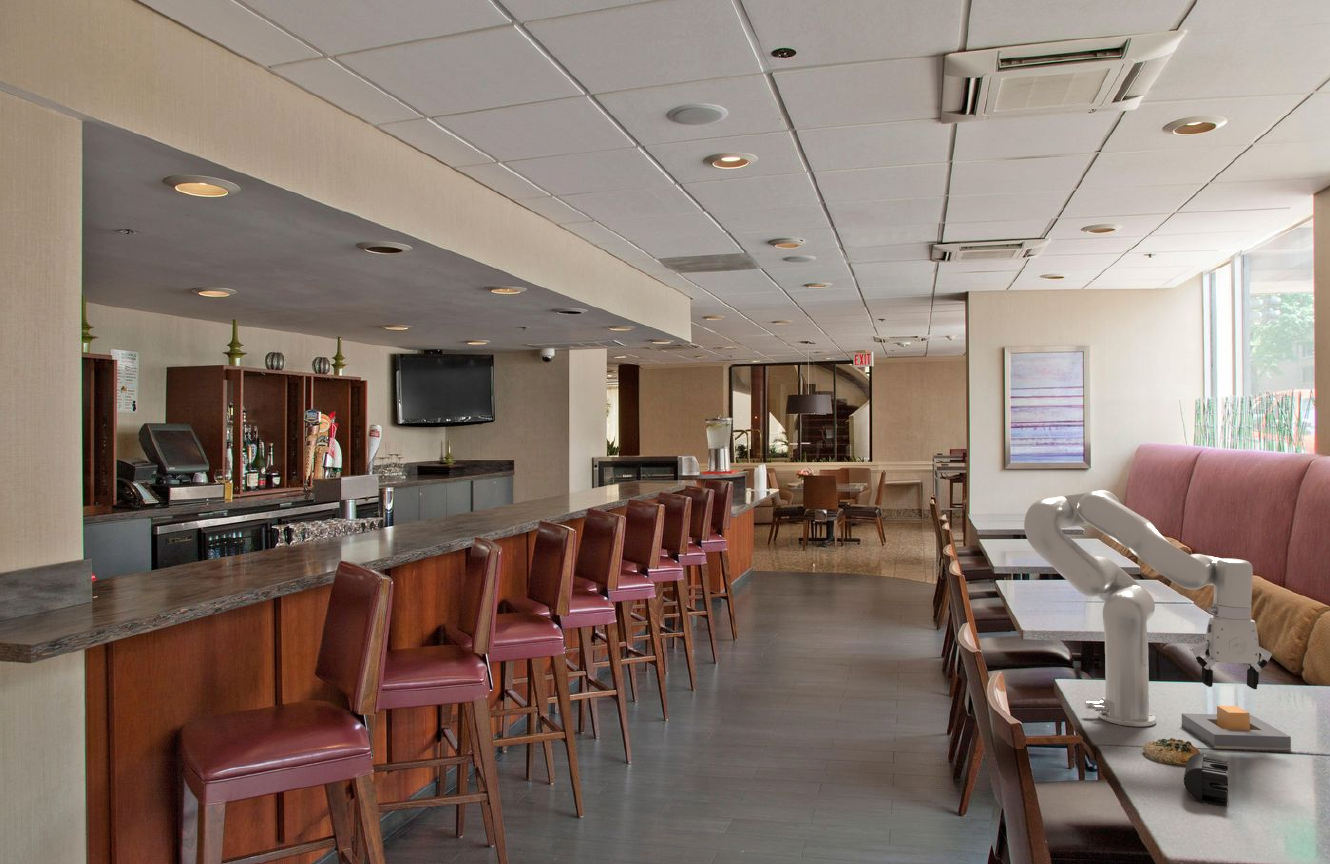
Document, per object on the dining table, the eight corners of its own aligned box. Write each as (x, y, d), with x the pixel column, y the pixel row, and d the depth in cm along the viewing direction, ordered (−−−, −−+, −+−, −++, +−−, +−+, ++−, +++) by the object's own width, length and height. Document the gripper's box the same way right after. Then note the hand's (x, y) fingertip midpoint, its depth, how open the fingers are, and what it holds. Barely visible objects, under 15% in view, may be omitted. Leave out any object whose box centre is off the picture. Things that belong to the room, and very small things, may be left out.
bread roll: (1193, 751, 202) (1193, 729, 202) (1208, 775, 192) (1208, 753, 191) (1138, 748, 206) (1137, 727, 205) (1149, 772, 195) (1149, 750, 194)
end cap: (1186, 784, 183) (1186, 750, 183) (1228, 791, 179) (1227, 757, 180) (1183, 801, 175) (1183, 765, 175) (1227, 809, 171) (1226, 772, 171)
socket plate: (1214, 748, 204) (1214, 734, 204) (1181, 726, 220) (1181, 713, 220) (1290, 750, 203) (1290, 736, 203) (1252, 728, 219) (1252, 715, 219)
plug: (1228, 739, 209) (1228, 712, 209) (1217, 731, 215) (1216, 705, 215) (1249, 739, 209) (1249, 713, 209) (1237, 732, 214) (1237, 706, 214)
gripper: (1200, 614, 209) (1197, 689, 209) (1280, 618, 207) (1278, 693, 208) (1185, 607, 217) (1182, 680, 217) (1262, 611, 215) (1260, 684, 215)
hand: (1229, 686), depth 212 cm, fingers open, 9 cm apart
